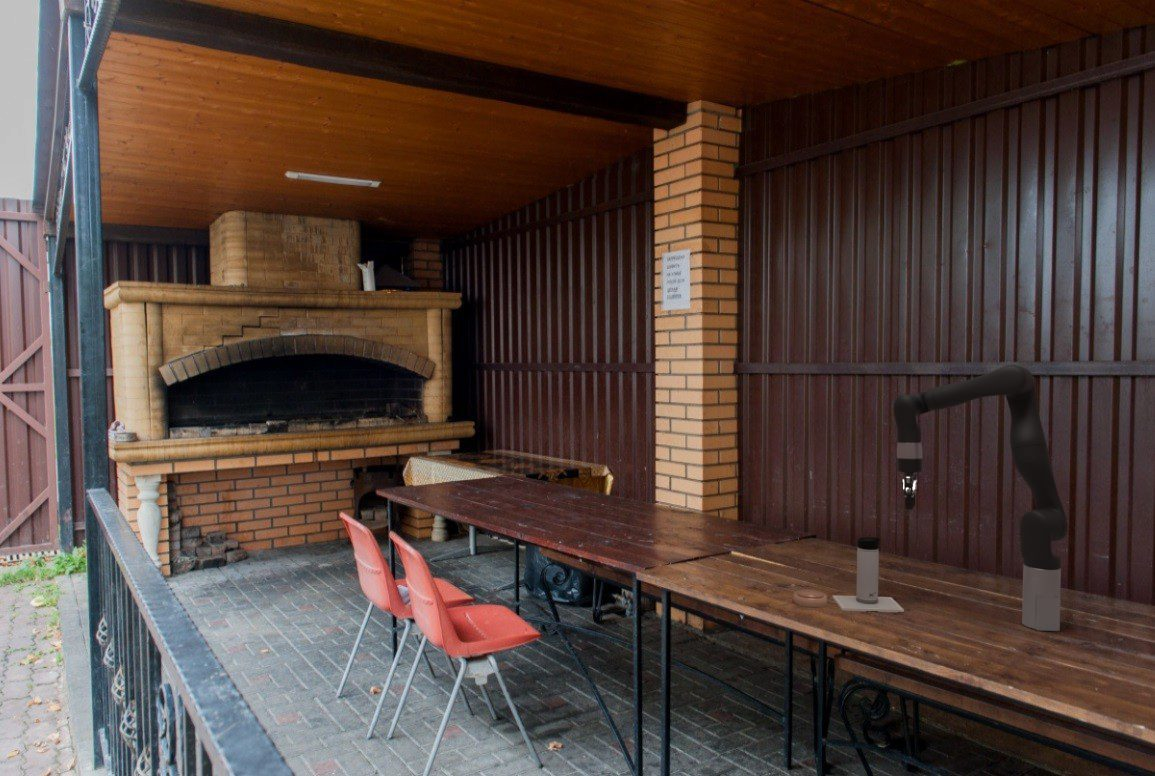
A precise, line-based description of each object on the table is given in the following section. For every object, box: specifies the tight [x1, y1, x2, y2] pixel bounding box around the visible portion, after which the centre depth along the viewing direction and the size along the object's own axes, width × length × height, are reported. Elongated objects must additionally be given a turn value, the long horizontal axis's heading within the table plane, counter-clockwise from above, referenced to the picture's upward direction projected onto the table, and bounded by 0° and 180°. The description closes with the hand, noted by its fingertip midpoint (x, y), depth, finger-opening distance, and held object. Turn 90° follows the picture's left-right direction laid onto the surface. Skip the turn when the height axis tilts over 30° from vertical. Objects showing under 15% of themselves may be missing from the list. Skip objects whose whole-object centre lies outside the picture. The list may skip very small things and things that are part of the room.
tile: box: [832, 595, 905, 613], centre depth 248 cm, size 13×18×1 cm
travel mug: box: [855, 536, 881, 604], centre depth 248 cm, size 6×7×20 cm
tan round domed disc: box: [793, 588, 828, 608], centre depth 250 cm, size 10×10×3 cm
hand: (910, 507), depth 256 cm, fingers open, 8 cm apart
